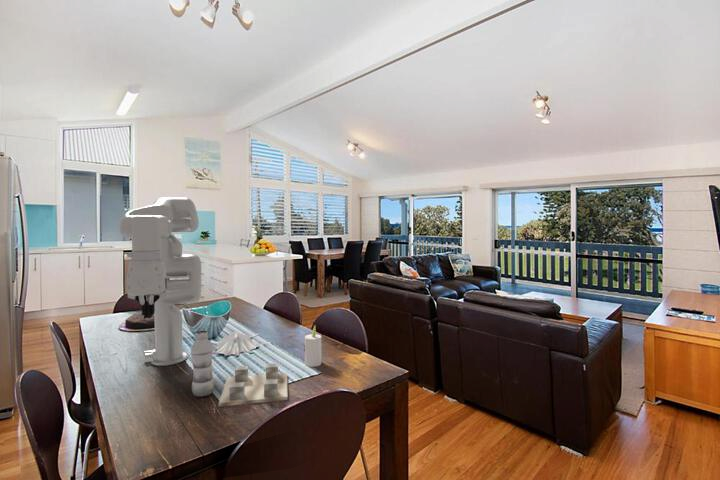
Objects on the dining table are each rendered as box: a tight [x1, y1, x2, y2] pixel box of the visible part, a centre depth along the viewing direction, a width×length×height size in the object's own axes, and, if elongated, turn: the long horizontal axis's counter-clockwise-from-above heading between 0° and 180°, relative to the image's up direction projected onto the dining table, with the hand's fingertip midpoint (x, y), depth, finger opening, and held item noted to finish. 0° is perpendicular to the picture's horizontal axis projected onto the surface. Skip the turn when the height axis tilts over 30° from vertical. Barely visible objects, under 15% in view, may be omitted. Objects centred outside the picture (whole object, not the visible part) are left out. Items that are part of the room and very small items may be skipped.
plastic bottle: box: [190, 329, 215, 398], centre depth 114 cm, size 6×7×20 cm
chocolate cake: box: [118, 312, 155, 333], centre depth 192 cm, size 28×28×7 cm
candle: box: [303, 324, 322, 368], centre depth 139 cm, size 6×6×15 cm
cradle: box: [217, 363, 289, 408], centre depth 118 cm, size 20×18×5 cm
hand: (148, 316), depth 110 cm, fingers closed
